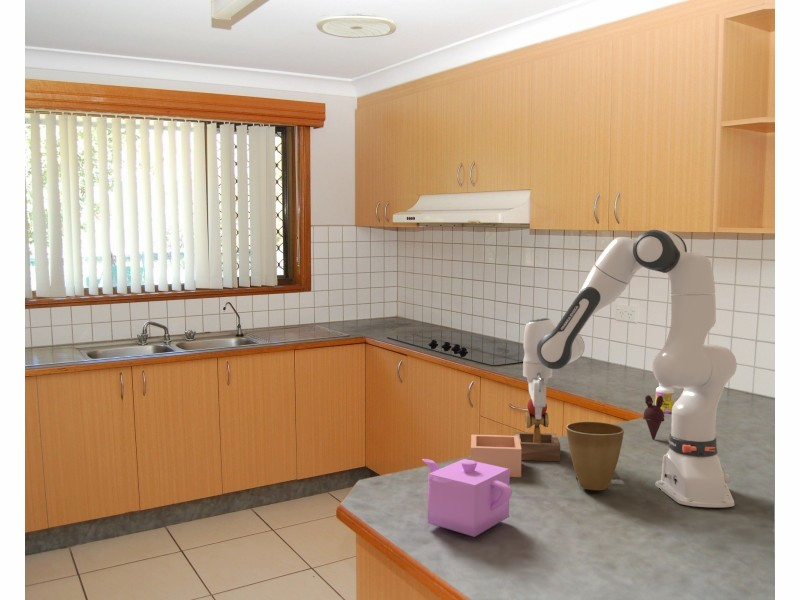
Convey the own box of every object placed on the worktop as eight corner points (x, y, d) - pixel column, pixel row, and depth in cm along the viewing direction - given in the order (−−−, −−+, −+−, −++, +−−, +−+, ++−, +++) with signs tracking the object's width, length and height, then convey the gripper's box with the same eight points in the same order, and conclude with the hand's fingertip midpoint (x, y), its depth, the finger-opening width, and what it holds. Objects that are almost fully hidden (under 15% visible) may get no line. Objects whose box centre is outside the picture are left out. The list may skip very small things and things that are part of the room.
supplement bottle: (652, 414, 273) (653, 381, 272) (658, 411, 278) (659, 378, 277) (669, 417, 269) (670, 383, 268) (676, 413, 274) (677, 380, 273)
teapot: (440, 498, 182) (440, 444, 181) (527, 521, 167) (528, 463, 166) (403, 515, 171) (403, 458, 170) (493, 542, 155) (494, 479, 154)
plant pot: (634, 489, 189) (636, 429, 188) (594, 499, 181) (595, 437, 180) (593, 473, 202) (594, 418, 201) (553, 482, 194) (554, 424, 193)
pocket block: (560, 461, 214) (560, 444, 213) (516, 459, 215) (516, 443, 215) (555, 448, 227) (555, 433, 226) (514, 447, 228) (514, 432, 228)
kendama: (521, 455, 219) (522, 398, 218) (526, 450, 225) (526, 394, 224) (546, 458, 216) (547, 400, 215) (550, 453, 222) (551, 396, 221)
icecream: (644, 442, 234) (645, 397, 233) (640, 436, 241) (641, 392, 240) (666, 443, 233) (668, 397, 232) (661, 437, 240) (662, 393, 239)
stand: (521, 477, 199) (521, 449, 198) (470, 475, 200) (470, 447, 200) (518, 462, 213) (518, 435, 212) (471, 460, 214) (471, 434, 213)
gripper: (551, 377, 208) (550, 423, 209) (545, 365, 228) (544, 408, 230) (529, 376, 209) (528, 423, 210) (525, 365, 229) (524, 407, 230)
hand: (536, 415), depth 220 cm, fingers open, 8 cm apart
